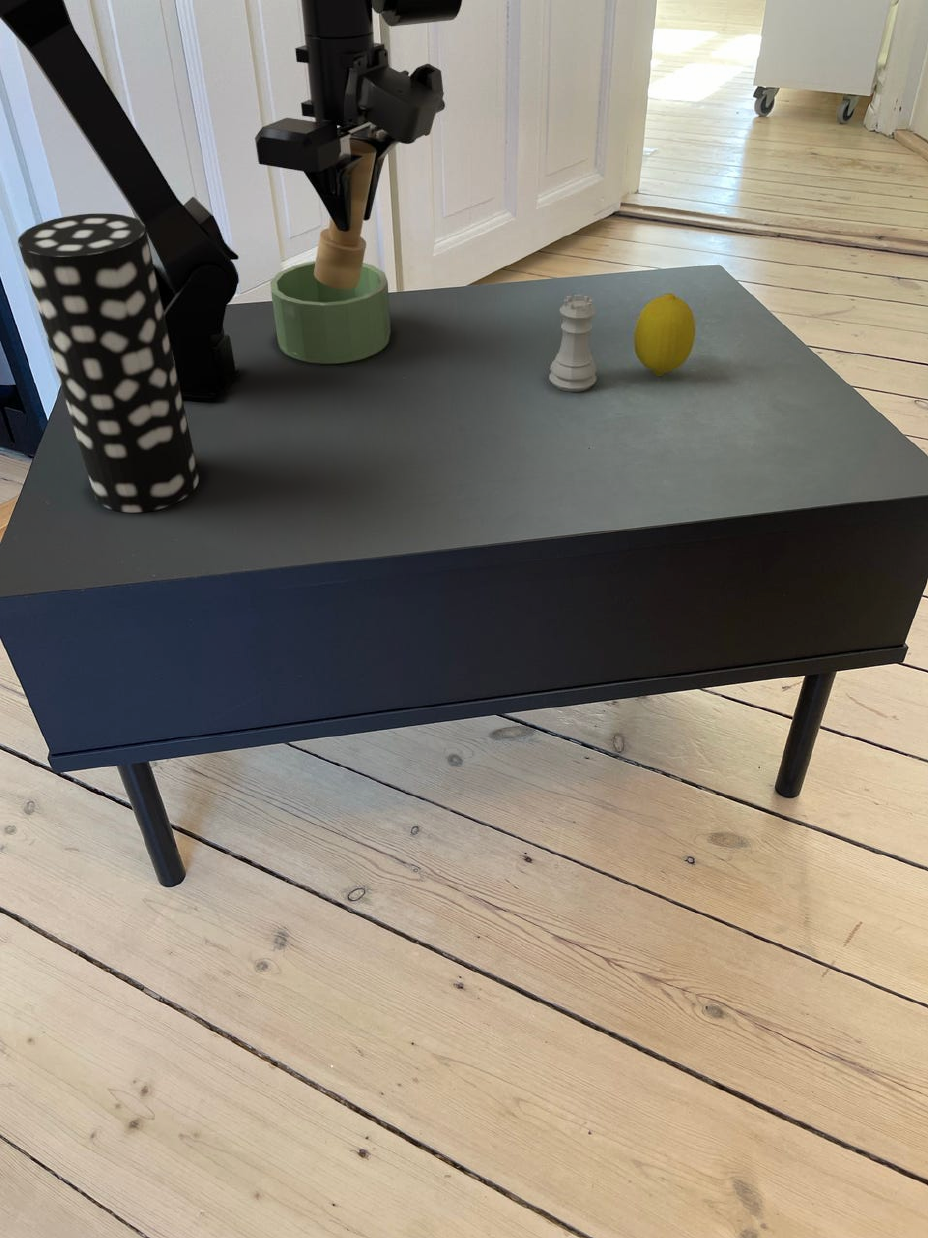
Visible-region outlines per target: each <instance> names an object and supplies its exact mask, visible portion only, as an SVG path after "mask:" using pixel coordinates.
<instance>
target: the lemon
mask: <svg viewBox="0 0 928 1238" xmlns="http://www.w3.org/2000/svg"><path fill="white" fill-rule="evenodd" d="M634 328H635V329H634V334H633V335H634V336H633V341H634V342H633V344H634V345H633V346H634V350H635V354H636V356H637V359H638V360H639V362H640V363H641V364H642V366H644V367H645V368H646V369H648V370H650V371H652V372H653V373H654V374H655V375H656V376H658V377H661V376H664V375H665V374H666V373H668V372H669V373H670V372H672V371H674V370H677V369H678V368H680V367H681V366H682V365H683V364H684V363H685V362H686V361H687V359H688V358H689V357H690V355H691V353H692V350H693V347H694V343H695V338H696V322H695V316H694V313H693V311H692V309H691V307H690V305H689V304H687V302H686V301H684V300H683V299H682V298H681V297H678V296H676V295H675V294H674V293H672V292H666V293H665V294H664V295H661V296H658V297H656V298H653V299H652V300H651V301H649V302H648V303H647V304H646V305H645V306H644V307H643V309H642V310H641V312H640V314H639V316H638V318H637V321H636V324H635V327H634Z"/></svg>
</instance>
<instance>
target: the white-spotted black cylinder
mask: <svg viewBox="0 0 928 1238" xmlns="http://www.w3.org/2000/svg"><path fill="white" fill-rule="evenodd" d="M17 244H18V247H19V251H20V254H21V257H22V260H23V265H24V268H25V270H26V274H27V277H28V280H29V285H30V287H31V290H32V293H33V297H34V300H35V304H36V307H37V310H38V314H39V317H40V321H41V324H42V327H43V331H44V333H45V337H46V340H47V343H48V347H49V351H50V353H51V356H52V360H53V363H54V366H55V370H56V373H57V377H58V380H59V384H60V386H61V389H62V393H63V396H64V400H65V403H66V407H67V410H68V413H69V416H70V420H71V423H72V427H73V429H74V433H75V436H76V439H77V444H78V446H79V449H80V453H81V457H82V460H83V462H84V466H85V469H86V473H87V477H88V479H89V483H90V485H91V489H92V492H93V495H94V498H95V500H96V501H97V502H98V504H100V505H101V506H103V507H104V508H106V509H109V510H112V511H116V512H122V513H146V512H152V511H157V510H160V509H165V508H168V507H170V506H173V505H175V504H176V503H178V502H180V501H182V500H184V499H185V498H187V497H188V496H189V495H191V493H193V491H194V490H195V489H196V487H197V486H198V484H199V479H200V475H199V470H198V465H197V461H196V456H195V452H194V448H193V442H192V438H191V432H190V429H189V424H188V419H187V414H186V410H185V405H184V401H183V400H184V399H182V395H181V391H180V386H179V381H178V377H177V372H176V367H175V363H174V358H173V353H172V349H171V344H170V339H169V335H168V330H167V325H166V321H165V316H164V311H163V307H162V302H161V297H160V293H159V288H158V283H157V279H156V274H155V269H154V265H153V260H152V255H151V251H150V246H149V242H148V237H147V232H146V228H145V225H144V224H143V223H142V222H141V221H139V220H138V219H135V217H132V216H129V215H126V214H118V213H106V212H105V213H104V212H103V213H98V212H97V213H83V214H74V215H66V216H63V217H58V218H54V219H51V220H47V221H44V222H40V223H38V224H35V225H34V226H32V227H30V228H28V229H26V230H25V231H24V232H22V233H21V234H20V236H19V237H18V238H17Z"/></svg>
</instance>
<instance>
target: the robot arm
mask: <svg viewBox="0 0 928 1238" xmlns="http://www.w3.org/2000/svg"><path fill="white" fill-rule="evenodd" d="M300 4H301V14H302V22H303V34H304V35H303V36H304V45H301V46H298V47H294V48H295V49H294V52H295V59H296V63H302V64H306V65H307V75H308V83H309V95H310V99H307V100H305V101H302V102H300V106H301V107H300V108H301V109H300V110H301V116H302V117H306V118H307V117H308V118H314V120H307V119H299V118H293V117H284V118H282V119H279V120H277V121H274V122H272V123H268V124H266V125H264V126H262V127H261V128H260V130H259V131H258V132H257V134H256V135H255V136H254V141H255V142H254V143H255V149H256V157H257V162H258V164H259V165H261V166H262V165H263V166H268V167H273V168H280V169H286V170H292V171H298V172H303V173H304V175H305V176H306V178H307V179H308V181H309V182H310V184H311V185H312V187H313V188H314V190H315V192H316V194H317V195H318V197H319V199H320V200H321V202H322V204H323V206H324V207H325V209H326V211H327V213H328V215H329V216H330V218H332V220H333V221H334V223H335V225H336V227H337V229H338V230H339V231H344V232H348V231H349V230H350V222H351V173H352V171H353V170H354V168H355V167H356V166H357V165H358V163H359V162H360V161H361V159H362V157H363V156H360V155H353V154H351V152H350V140H359V141H363V142H366V143H368V144H370V145H372V146H373V147H374V148H375V149H376V157H375V162H374V167H373V173H372V178H371V183H370V188H369V194H368V199H367V204H366V209H365V215H364V220H363V221H369V220H370V219H371V216H372V211H373V208H374V207H373V206H374V203H375V198H376V195H377V194H376V193H377V189H378V185H379V180H380V176H381V172H382V169H383V165H384V162H385V158H386V157H387V155H388V154H389V153H390V152H391V151H392V150H393V149H394V148H395V147H396V146H397V145H398V144H400V143H401V144H405V145H410V144H413V143H415V142H416V140H417V139H420V138H421V137H424V136H425V137H427V136H430V134H431V132H432V128H433V124H434V122H435V117H436V114H438V113H440V112H442V111H444V109H445V108H446V102H445V101H444V99H443V98H444V95H445V92H444V85H443V77H442V70H441V69H439V68H437V67H435V66H434V65H432V64H430V63H425V64H423V65H420V66H417V67H416V68H415V69H414V70H413V71H412V73H411V74H410V72H409V71H408V70H406V69H404V70H403V71H397V70H396V69H394V68H392V67H391V66H390V63H389V52H388V49H386V47H385V46H386V45H385V43H380V42H375V35H374V34H375V33H374V15H373V11H374V13H376V14H379V15H381V17H382V20H383V21H384V22H385V24H386V25H388V26H389V27H391V28H393V27H402V26H411V25H420V24H421V25H422V24H429V23H430V24H431V23H440V22H449V21H454V20H455V19H456V18H457V17H458V15H459V13H460V11H461V7H462V5H463V0H300ZM0 20H1V22H3V24H5V26H6V27H7V29H9V31H11V32H12V33H13V35H14V36H15V37H16V38H17V39H18V41H20V42H21V44H22V45H23V46H24V47H25V49H26V50H27V51H28V53H29V55H30V56H31V58H32V59H33V61H34V62H35V64H36V65H37V67H38V68H39V70H40V71H41V73H42V74H43V76H44V77H45V79H46V80H47V82H48V84H49V85H50V87H51V89H52V90H53V92H54V93H55V94H56V96H57V98H58V99H59V101H60V102H61V104H62V105H63V107H64V108H65V110H66V111H67V113H68V114H69V116H70V118H71V119H72V120H73V122H74V124H75V125H76V127H77V128H78V130H79V131H80V133H81V134H82V136H83V138H84V139H85V141H86V142H87V143H88V144H89V146H90V148H91V149H92V152H93V153H94V154H95V156H96V157H97V159H98V160H99V162H100V164H101V165H102V166H103V168H104V170H105V171H106V173H107V174H108V176H109V177H110V179H111V180H112V182H113V183H114V185H115V186H116V188H117V190H118V191H119V192H120V194H121V195H122V197H123V198H124V200H125V202H126V203H127V204H128V206H129V208H130V209H131V211H132V213H133V216H134V218H135V219H138V220H139V221H141V222H142V223H143V224H144V225H145V228H146V232H147V237H148V242H149V246H150V251H151V255H152V260H153V265H154V269H155V274H156V279H157V283H158V288H159V293H160V297H161V302H162V307H163V311H164V316H165V321H166V325H167V330H168V335H169V339H170V344H171V349H172V353H173V358H174V363H175V367H176V372H177V377H178V381H179V386H180V391H181V395H182V400H191V401H200V402H201V401H202V402H214V401H217V400H218V398H219V397H220V396H221V395H222V394H223V392H224V391H225V390H226V389H227V387H228V386H229V385H230V383H231V382H232V381H233V380H234V379H235V377H236V376H237V375H239V372H240V368H239V366H237V365H236V363H235V359H234V352H233V346H232V341H231V336H230V334H228V333H225V327H224V321H225V316H226V311H227V310H226V309H227V305H228V304H230V303H231V301H232V300H233V298H234V296H235V294H236V292H237V288H238V285H239V283H240V279H239V273H238V270H237V268H236V266H235V264H234V262H233V261H236V260H239V255H238V254H237V253H236V252H235V251H234V250H233V249H232V248H231V247H230V246H229V244H228V243H226V241H225V239H224V237H223V234H222V232H221V229H220V227H219V224H218V222H217V220H216V218H215V216H214V215H213V214H212V213H211V212H210V211H209V210H208V209H207V208H206V207H205V206H204V205H203V204H202V203H201V202H200V201H199V200H198V199H197V198H196V197H195V196H192V197H190V199H188V200H187V201H186V202H185V203H184V204H183V203H182V202H181V200H180V199H179V198H178V197H177V196H176V194H175V192H174V190H173V189H172V187H171V186H170V184H169V182H168V181H167V179H166V177H165V175H164V174H163V172H162V170H161V169H160V168H159V166H158V164H157V163H156V161H155V159H154V157H153V156H152V153H150V150H148V148H147V146H146V145H145V143H144V141H143V140H142V138H141V136H140V134H139V133H138V131H137V129H136V127H134V125H133V123H132V122H131V119H130V118H129V117H128V115H127V113H126V111H124V109H123V106H122V105H121V103H120V102H119V100H118V98H117V97H116V95H115V93H114V92H113V90H112V89H111V86H110V85H109V84H108V82H107V80H106V78H105V77H104V76H103V73H102V72H101V71H100V69H99V67H98V65H97V64H96V63H95V61H94V59H93V58H92V56H91V54H90V52H89V51H88V50H87V47H86V46H85V44H84V43H83V41H82V39H81V38H80V36H79V34H78V33H77V31H76V29H75V27H74V24H73V21H72V19H71V16H70V13H69V11H68V9H67V5H66V3H65V0H0ZM409 74H410V75H409Z"/></svg>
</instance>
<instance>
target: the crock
mask: <svg viewBox="0 0 928 1238" xmlns="http://www.w3.org/2000/svg"><path fill="white" fill-rule="evenodd" d="M315 263H316V260H313V261H308V262H303V263H300V264H296V265H292V266H290V267H287V268H285V269H283V270H281V271H279V272H277V273H276V274H275V275H274V276H273V278H272V279H271V280H270V281H269V286H270V294H271V301H272V308H273V314H274V315H273V316H274V322H275V331H276V336H277V337H276V339H277V343H278V347H279V349H280V350H281V352H283V353H284V354H285V355H287V356H289V357H291V358H293V359H294V360H297V361H300V362H301V361H302V362H305V363H310V364H321V365H322V364H323V365H326V364H328V365H332V364H334V365H335V364H345V363H351V362H356V361H360V360H364V359H367V358H369V357H372V356H374V355H376V354H378V353H379V352H381V351H383V350H384V348H386V347H387V345H388V344H389V342H390V340H391V331H392V330H391V315H390V314H391V312H390V297H389V295H390V294H389V281H388V278H387V275H386V273H385V272H384V271H383V270H382V269H380V268H379V267H377V266H376V265H373V264H369V263H365V262H363V265H362V270H361V275H360V280H359V284H358V286H357V287H356V288H353V289H347V290H343V289H336V288H332V287H329V286H326V285H324V284H322V283H321V282H319V281H318V280H317V279H316V278H315V276H314V269H315Z"/></svg>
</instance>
